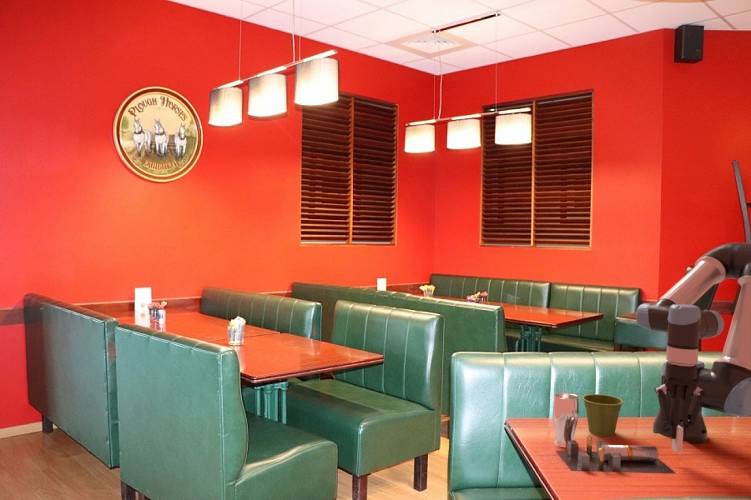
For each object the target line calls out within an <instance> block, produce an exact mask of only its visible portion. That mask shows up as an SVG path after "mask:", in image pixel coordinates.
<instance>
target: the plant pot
mask: <svg viewBox="0 0 751 500" xmlns="http://www.w3.org/2000/svg"><path fill="white" fill-rule="evenodd" d="M581 399H582V400H583V402H584V407H585V411H586V418H587V420H586V421H587V425H588V432H589V433H590V434H593V435H595V436H600V437H612V436H615V434H616V429H617V424H618V419H619V413H620V412H621V411H620V410H621V408H622V404H624V400H623V399H622V398H620V397H617V396H613V395H608V394H594V393H593V394H591V393H590V394H585V395H583V396H581Z"/></svg>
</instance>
